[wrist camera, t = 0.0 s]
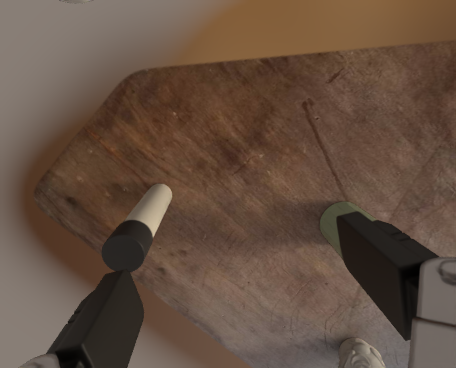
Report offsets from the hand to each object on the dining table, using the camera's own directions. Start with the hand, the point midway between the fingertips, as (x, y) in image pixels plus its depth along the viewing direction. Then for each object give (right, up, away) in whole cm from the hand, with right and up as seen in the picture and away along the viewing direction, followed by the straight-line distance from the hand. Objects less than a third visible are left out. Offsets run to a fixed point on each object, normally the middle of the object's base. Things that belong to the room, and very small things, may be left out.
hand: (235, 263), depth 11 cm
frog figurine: (+18, -21, +33) cm, 43 cm away
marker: (-9, +2, +25) cm, 27 cm away
